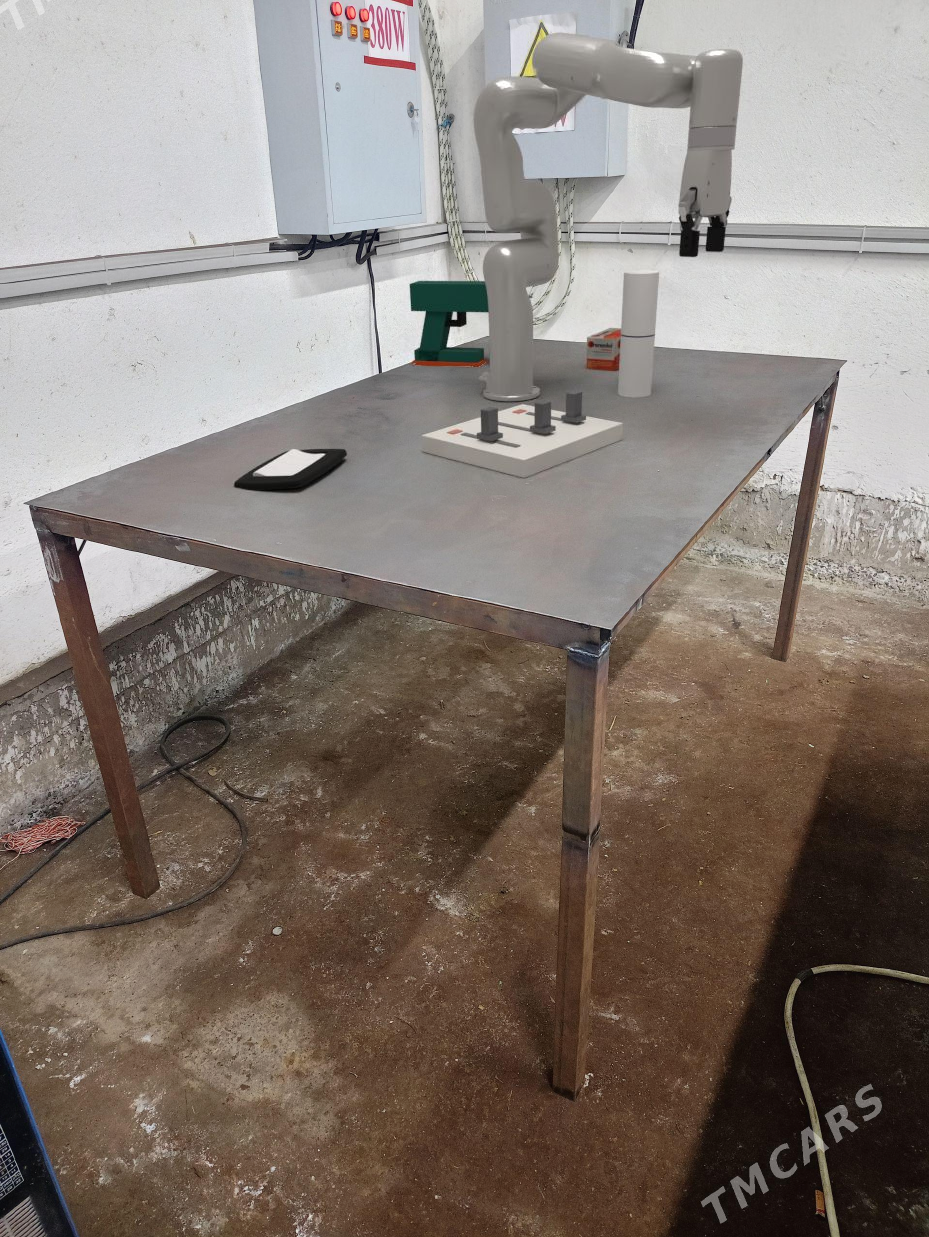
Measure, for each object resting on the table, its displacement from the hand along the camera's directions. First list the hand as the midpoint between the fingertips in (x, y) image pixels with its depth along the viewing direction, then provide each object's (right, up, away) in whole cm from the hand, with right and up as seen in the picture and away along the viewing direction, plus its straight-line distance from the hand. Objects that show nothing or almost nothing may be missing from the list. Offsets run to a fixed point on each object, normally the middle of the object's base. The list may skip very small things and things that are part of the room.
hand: (701, 254), depth 148 cm
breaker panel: (-30, -31, +8) cm, 44 cm away
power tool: (-38, +3, +74) cm, 84 cm away
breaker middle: (-27, -30, +4) cm, 40 cm away
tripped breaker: (-37, -31, +1) cm, 48 cm away
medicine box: (-4, +1, +69) cm, 69 cm away
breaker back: (-21, -26, +10) cm, 35 cm away
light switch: (-70, -38, -1) cm, 80 cm away
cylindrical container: (-4, -14, +41) cm, 43 cm away
